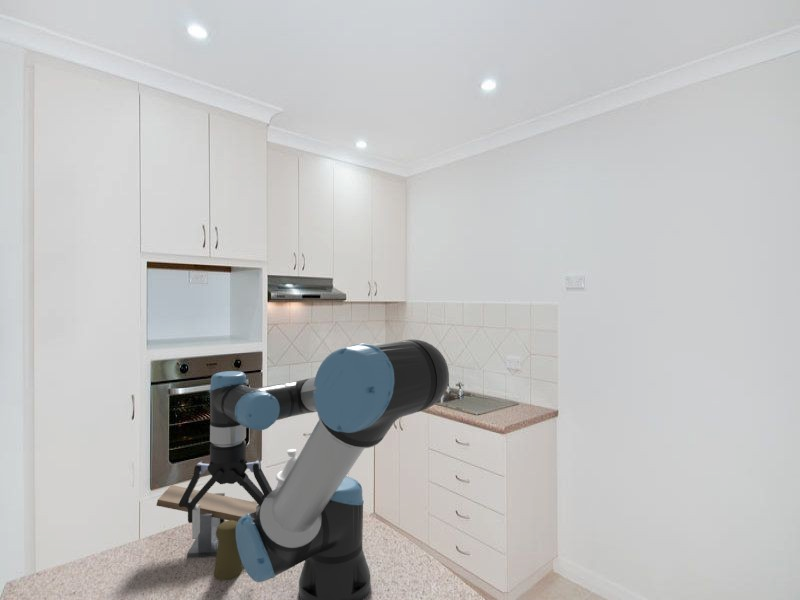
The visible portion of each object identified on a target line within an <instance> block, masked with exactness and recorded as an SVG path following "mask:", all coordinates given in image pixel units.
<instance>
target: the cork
mask: <svg viewBox="0 0 800 600" xmlns="http://www.w3.org/2000/svg"><path fill="white" fill-rule="evenodd" d="M236 525H237V521H234V520H225V522H223V523H221V524H220V525H219V526H218V527H217V530H216V537H217V539H218V540H219V542H218V549H217V557H215V558H216V559H215V565H214V572H213V576H214V578H215V579H216V580H218V581H228V580H229V581H230V580H233V579H235V578H236V577H238V576H240V575H241V573H243V569H244V566H243V564H242V561H241V559H240V556H239V552H238V548H237V543H236Z"/></svg>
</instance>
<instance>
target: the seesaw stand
mask: <svg viewBox="0 0 800 600" xmlns="http://www.w3.org/2000/svg"><path fill="white" fill-rule="evenodd" d="M215 494H217V495H222V496H225V495H226V493H225V492H221V493H220V492H219V493H215ZM225 521H226V520H225V519H220V518H215V517H212V514H200V533H199V535H198V536H197V538H196V539H194V542H193V543H192V544H191V546H190V548H189V549H188V550H187V553H186V559H195V558H196V559H198V558H213V557H215V558H216V557H217V549H218V542H219V540H218V539H217V537H216V530H217V527H218V526H219V525H220V524H221V523H223V522H225Z"/></svg>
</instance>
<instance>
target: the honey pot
mask: <svg viewBox="0 0 800 600" xmlns="http://www.w3.org/2000/svg"><path fill="white" fill-rule="evenodd" d="M297 452H298V451H297V449H296V448H289V449H287V455H288V457H290V459H289V460H288V461H287V462H286V463H285V465H284V467H283V469H282V470H280V471H278V472H277V473H276V475H275V479H276V481H277V484H276V485H275V489H277V488H279V487H281V486H282V484H283V483H284V481H285V479H286V477H287V476H288V474H289V472H290V470H291V468H292V467H293V465H294V463H295V461H296V460H297V458H298V456H296V454H297ZM275 489H274V490H275Z"/></svg>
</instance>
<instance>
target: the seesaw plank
mask: <svg viewBox="0 0 800 600" xmlns="http://www.w3.org/2000/svg"><path fill="white" fill-rule="evenodd" d="M186 489H187V487H184V486H183V487H182V486H178V485H173V484H170V486H169V487H167V489H166V490H165V491H164V492H163V493H162V494H161V495H160V496H159V497H158V499H157V501H156V505H155V506H157V507H161V508H166V509H170V510H171V509H172V510H177V511H182V512H186V513H188V509H187V508H186V507H179V502H180V500H181V498H182V496H183V495H184V493H185V491H186ZM199 491H200V490H198V489H197V490H196V489H194V490H193V491H192V493H191V495H190V497H189V499H191V500H192V499H193V498H194V497H195V496H196V495H197V493H198V492H199ZM197 504H200V514H212V517H215V518H220V519H225V521H229V520H234V521H237V522H238V520H239V519H240V518H241V517H243V516H245V515H246V514H248V513H249V514H251V513H253V512H256V507H257V504H258V503H257V502H256V501H255V502H254V501H250V500H245V499H241V498H236V497H232V496H231V497H230V496H222V495H217V494H216V493H211V492H208V491H207V492H206V493H205V495H204V496H203V497H202V498H201V499H200V500H199V501H198V503H197Z"/></svg>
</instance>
